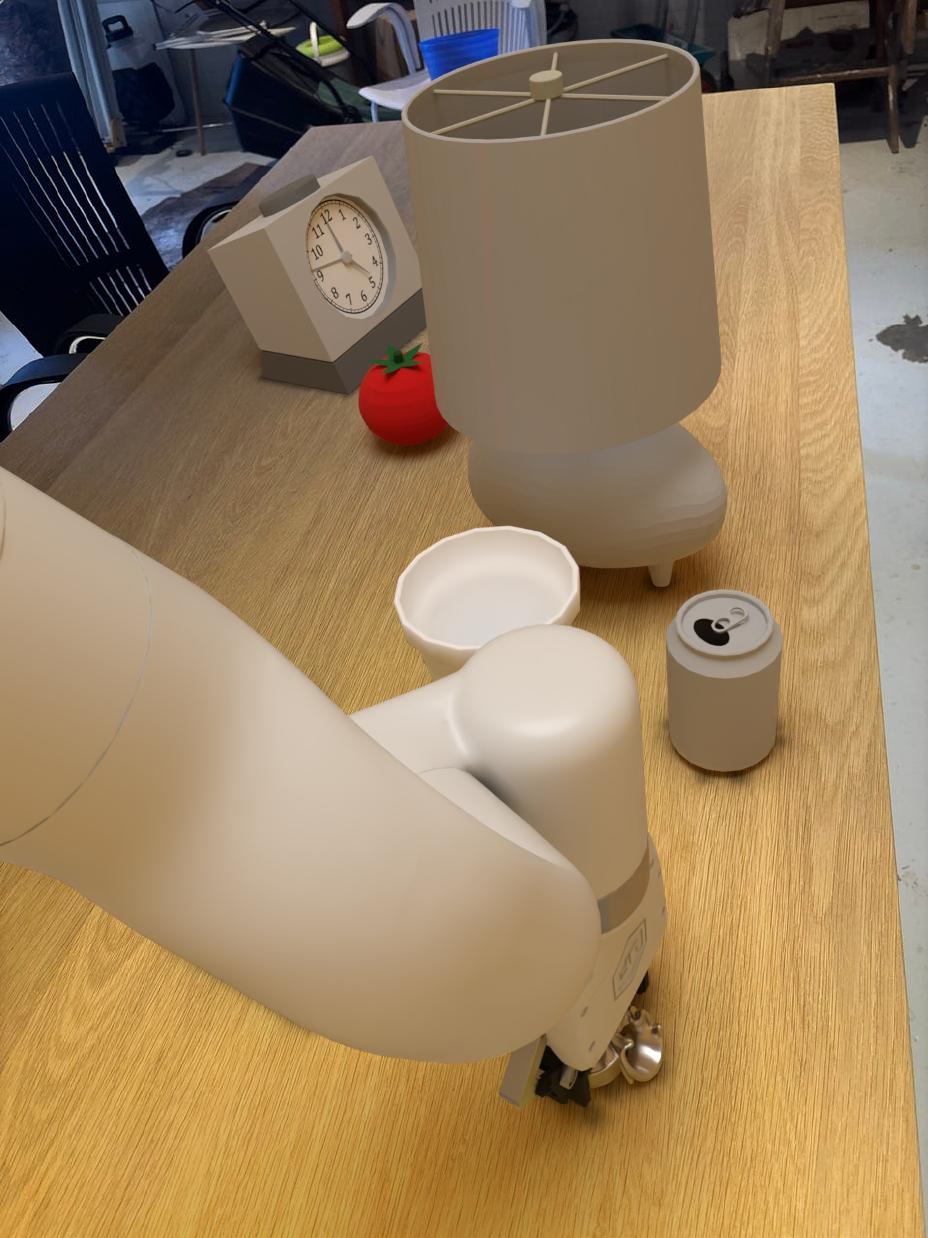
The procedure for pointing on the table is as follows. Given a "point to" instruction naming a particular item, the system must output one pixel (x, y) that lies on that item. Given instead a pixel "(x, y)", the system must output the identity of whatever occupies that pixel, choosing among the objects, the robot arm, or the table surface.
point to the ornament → (631, 1050)
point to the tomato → (401, 398)
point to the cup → (483, 592)
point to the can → (723, 679)
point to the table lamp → (574, 292)
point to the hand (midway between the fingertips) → (594, 1032)
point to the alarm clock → (325, 278)
